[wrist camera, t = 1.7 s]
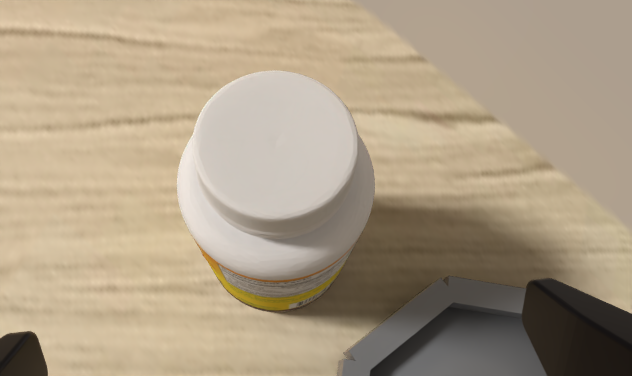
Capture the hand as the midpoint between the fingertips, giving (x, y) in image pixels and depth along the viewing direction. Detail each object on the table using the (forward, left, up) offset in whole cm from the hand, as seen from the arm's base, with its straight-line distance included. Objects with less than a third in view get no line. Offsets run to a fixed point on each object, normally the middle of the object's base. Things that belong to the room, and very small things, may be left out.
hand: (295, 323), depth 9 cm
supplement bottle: (+4, -2, -11) cm, 12 cm away
